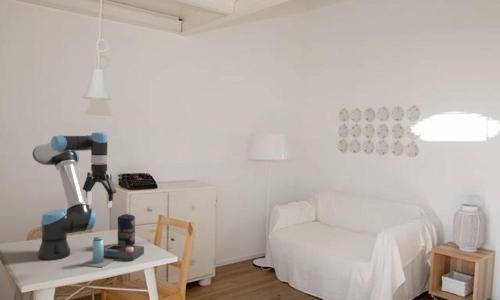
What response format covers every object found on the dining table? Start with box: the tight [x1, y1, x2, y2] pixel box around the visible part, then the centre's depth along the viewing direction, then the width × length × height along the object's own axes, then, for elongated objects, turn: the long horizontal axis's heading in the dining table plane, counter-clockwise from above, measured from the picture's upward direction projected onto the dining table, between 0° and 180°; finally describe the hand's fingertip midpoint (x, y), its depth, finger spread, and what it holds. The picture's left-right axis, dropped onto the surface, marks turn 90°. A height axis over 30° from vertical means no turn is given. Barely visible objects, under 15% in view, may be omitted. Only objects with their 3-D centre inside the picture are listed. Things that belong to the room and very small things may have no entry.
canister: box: [117, 213, 136, 246], centre depth 231 cm, size 10×10×18 cm
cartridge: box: [92, 236, 105, 264], centre depth 201 cm, size 5×5×12 cm
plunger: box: [126, 247, 134, 252], centre depth 209 cm, size 4×4×4 cm
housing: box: [104, 243, 145, 262], centre depth 212 cm, size 18×12×4 cm, turn 78°
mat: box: [79, 257, 117, 268], centre depth 201 cm, size 12×12×1 cm
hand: (99, 205), depth 202 cm, fingers open, 13 cm apart
